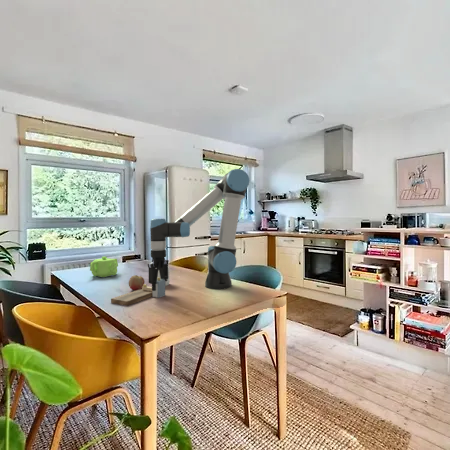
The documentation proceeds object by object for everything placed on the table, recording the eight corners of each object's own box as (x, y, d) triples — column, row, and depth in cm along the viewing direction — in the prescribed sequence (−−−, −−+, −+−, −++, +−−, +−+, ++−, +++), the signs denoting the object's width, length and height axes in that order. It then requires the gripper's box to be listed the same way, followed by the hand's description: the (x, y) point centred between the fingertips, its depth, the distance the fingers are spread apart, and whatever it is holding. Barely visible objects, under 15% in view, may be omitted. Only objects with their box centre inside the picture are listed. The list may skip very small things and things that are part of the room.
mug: (152, 288, 162) (151, 269, 162) (146, 285, 169) (146, 267, 169) (171, 285, 169) (171, 267, 169) (166, 282, 176) (165, 265, 176)
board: (158, 293, 150) (158, 289, 150) (127, 305, 131) (126, 301, 131) (144, 291, 155) (143, 287, 155) (111, 302, 135) (110, 298, 135)
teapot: (127, 275, 199) (127, 256, 198) (101, 280, 182) (101, 259, 181) (110, 272, 208) (110, 254, 208) (84, 277, 192) (83, 257, 191)
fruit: (140, 292, 154) (140, 277, 153) (126, 291, 155) (126, 276, 155) (146, 288, 162) (146, 274, 161) (133, 287, 163) (133, 273, 163)
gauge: (165, 295, 148) (165, 277, 148) (158, 297, 143) (158, 279, 143) (146, 292, 153) (146, 275, 153) (140, 294, 149) (140, 276, 148)
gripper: (163, 247, 155) (164, 290, 156) (139, 251, 139) (140, 299, 140) (175, 247, 152) (175, 292, 153) (152, 251, 136) (152, 301, 137)
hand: (158, 295), depth 147 cm, fingers closed on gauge, 5 cm apart
